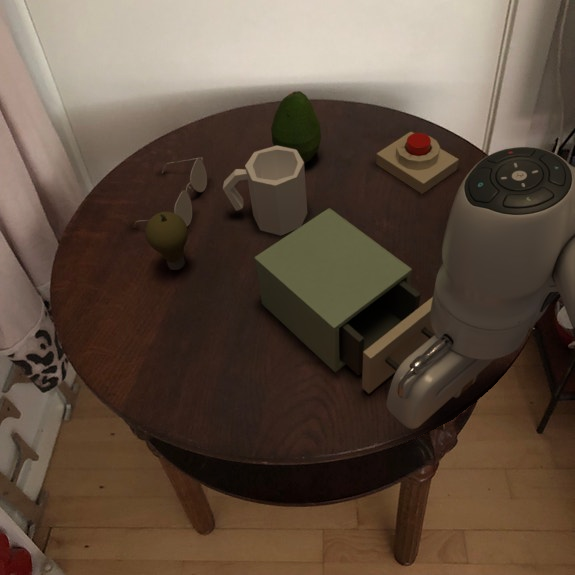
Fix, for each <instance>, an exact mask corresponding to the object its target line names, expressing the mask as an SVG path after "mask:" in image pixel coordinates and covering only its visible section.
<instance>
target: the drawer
mask: <svg viewBox="0 0 575 575" xmlns="http://www.w3.org/2000/svg"><path fill="white" fill-rule="evenodd" d="M421 294H422V293H421V292H419V291H418V290H416V289H415V288H414V287H413V286H411V284H410V285H409V284H407V283H406V282H405V281H403V280H402V281H401V282H399V283H398V284H397V285H395V286H394V287H393V288H391V289H390V290H389V291H387V292H386V293H385V294H383V295H382V296H381V297H379V298H378V299H377V300H376V301H374V302H373V303H372V304H370V305H369V306H368V307H366V308H365V309H364V310H362V311H361V312H360V313H358V314H357V315H356V316H354V317H353V318H352V319H350V320H349V321H348V322H347V323H345V324H344V325H343V326H341V327H340V328H339V358H340V359H341V360H342V361H343V362H344V363H345V364H346V365H345V366H347V367H348V368H350V369H351V370H352V371H353V372H354V373H355V374H356V375H357V376H360V375H361V374H362V376H361V389H363V390H364V391H365V392H366V393H367V394H368V395H369V394H370V393H372V392H373V391H374V390H375V389H377V388H378V387H379V386H380V385H382V384H383V383H384V382H385V381H386V380H387V379H389V378H390V377H391V376H392V375H393V374H395V373H396V371H397V369H398V368H399V366H400V365H401V364H402V362H403V361H404V360H405V359H406V358H407V357H409V356H410V355H411V354H412V353H413V352H415V351H416V350H417V349H418V348H419V347H421V346H422V345H423V344H424V343H425V342H427V341H428V340H429V339H430V338H432V337H433V336H434V335H435V332H434V330H433V328H432V325H431V320H430V310H431V305H432V299H433V296H432V297H430V298H429V299H428V300H426V301H425V302H424V303H423V304H422V305H421V306H420V303H421V302H420V301H421Z"/></svg>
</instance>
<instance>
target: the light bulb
mask: <svg viewBox="0 0 575 575" xmlns="http://www.w3.org/2000/svg"><path fill="white" fill-rule="evenodd" d="M148 220H149V221H147V224H146V227H145V237H146V240H147V242H148V244H149V246H150V247H151V248H152V249H153V250H155V251H156V253H158V254H160V255H161V256H162V258H163V259H164V260H165V261H166V264H167V266H168V268H169V269H170V270H172V271H178V270H180V269H182V268H183V267H184V266H185V263H186V261H185V258H184V254H185V246H186V245H187V244H186V243H187V241H188V236H189V230H188V226H186V224H185V222H184V220H183V219H182V218H181V217H180V216H179V215H177V214H175V213H174V212H171V211H161V212H157V213H156V214H154V215H153V216H152V217H151V218H150V219H148Z"/></svg>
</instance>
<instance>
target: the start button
mask: <svg viewBox="0 0 575 575" xmlns="http://www.w3.org/2000/svg"><path fill="white" fill-rule="evenodd" d="M413 133H414V134H412V135H410V136H409V137H408V138H407V145H406V150H407V152H408V153H409V154H411V155H415V156H423V155H426V154H428V153H429V151H430V144H431V139H430V137H431V136H430V135H428V134H426V133H422V132H413ZM427 135H428V136H427ZM429 136H430V137H429Z"/></svg>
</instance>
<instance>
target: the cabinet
mask: <svg viewBox="0 0 575 575" xmlns="http://www.w3.org/2000/svg"><path fill="white" fill-rule="evenodd" d="M253 259H254V264H255V270H256V276H257V282H258V288H259V294H260V298H261V300H260V301H261V304H262V305H263V306H264V308H266V309H267V310H268V311H269V312H270V313H271V314H272V315H273V316H274V317H275V318H276V319H277V320H278V321H279V322H281V323H282V324H283V325H284V326H285V327H286V328H287V329H288V330H289V331H290V332H291V333H292V334H293V335H294V336H295V337H296V338H298V340H300V341H301V342H302V343H303V344H304V345H305V346H306V347H307V348H308V349H309V350H310V351H312V352H313V353H314V355H315V356H317V357H318V358H319V359H320V360H321V361H322V362H323V363H324V364H325V365H327V367H329V369H330V370H332V372H334V373H337V372H338V371H339V370H341V369H342V368H344V367H345V366H347V365H346V364H345V363H344V362H343V361H342V360H341V359H340V358H339V328H340V327H341V326H343V325H344V324H345V323H347V322H348V321H349V320H350V319H352V318H353V317H354V316H356V315H357V314H358V313H360V312H361V311H362V310H364V309H365V308H366V307H368V306H369V305H370V304H372V303H373V302H374V301H376V300H377V299H378V298H379V297H381V296H382V295H383V294H385V293H386V292H387V291H389V290H390V289H391V288H393V287H394V286H395V285H397V284H398V283H399V282H401V281H402V280H403V281H405V282H406V283H407V284H409V285H410V286H411V282H412V281H411V280H412V273H413V272H412V271H413V269H412V267H410V266H408V265H407V264H406V263H405V262H403V261H401V260H400V259H399V258H398V257H397V256H395V255H394V254H393V253H391V252H390V251H388V250H387V249H386V248H384V247H383V246H381V245H380V244H379V243H377V241H374V239H372V238H371V237H369V236H368V235H367V234H365V233H364V232H363V231H361V230H360V229H358V228H357V227H356V226H355V225H353V223H351V222H349V221H348V220H346V219H345V218H344V217H342V216H341V215H340V214H338V213H337V212H336V211H334V210H333V209H332V208H331V207H329V208H327V209H326V210H324V211H322V212H321V213H320V214H317V215H316V216H315V217H313V218H312V219H310V220H309V221H307V222H306V223H304V224H302V226H301V227H300V228H298V229H296V230H293V231H291V232H290V233H289V234H287V235H286V236H284V237H283V238H281V239H280V240H278V241H277V242H275V243H274V244H272V245H271V246H269V247H268V248H267V249H265V250H263V251H262V252H260V253H259V254H257V255H255V256H254V257H253Z"/></svg>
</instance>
